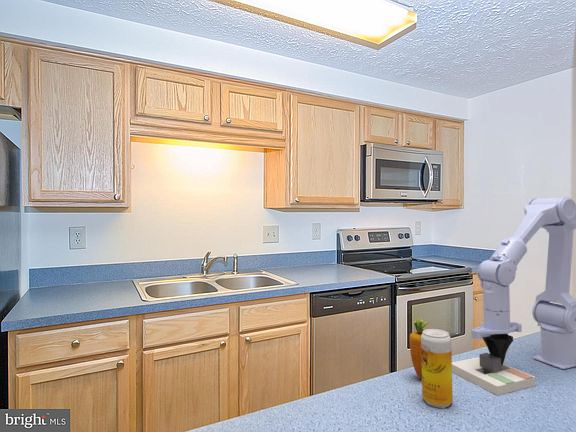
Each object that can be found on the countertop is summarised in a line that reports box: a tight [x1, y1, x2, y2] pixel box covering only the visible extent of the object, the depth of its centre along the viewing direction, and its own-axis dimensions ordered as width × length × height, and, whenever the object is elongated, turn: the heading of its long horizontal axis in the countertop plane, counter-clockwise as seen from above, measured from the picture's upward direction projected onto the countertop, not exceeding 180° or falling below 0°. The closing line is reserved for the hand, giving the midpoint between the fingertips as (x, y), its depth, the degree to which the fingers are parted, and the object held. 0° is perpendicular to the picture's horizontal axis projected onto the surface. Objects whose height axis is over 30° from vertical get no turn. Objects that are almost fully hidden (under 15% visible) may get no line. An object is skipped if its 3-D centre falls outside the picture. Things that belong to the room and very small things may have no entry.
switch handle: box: [478, 352, 501, 374], centre depth 90 cm, size 2×4×5 cm, turn 20°
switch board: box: [452, 356, 537, 396], centre depth 90 cm, size 12×14×2 cm
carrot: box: [408, 317, 429, 380], centre depth 90 cm, size 5×5×15 cm
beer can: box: [421, 328, 454, 409], centre depth 79 cm, size 6×6×15 cm
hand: (497, 363), depth 91 cm, fingers closed
